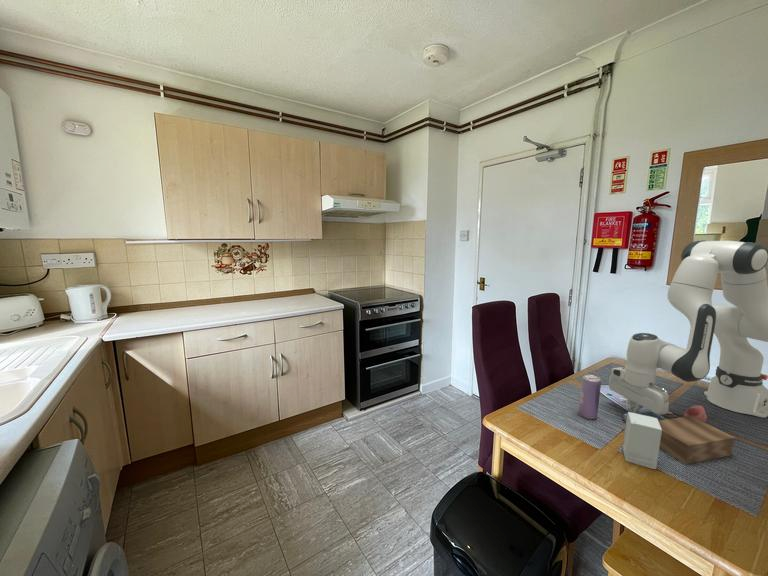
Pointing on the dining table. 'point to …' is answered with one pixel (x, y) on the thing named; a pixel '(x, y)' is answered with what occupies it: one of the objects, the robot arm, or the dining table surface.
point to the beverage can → (589, 396)
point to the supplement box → (642, 440)
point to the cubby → (694, 440)
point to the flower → (696, 413)
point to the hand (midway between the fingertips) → (634, 412)
